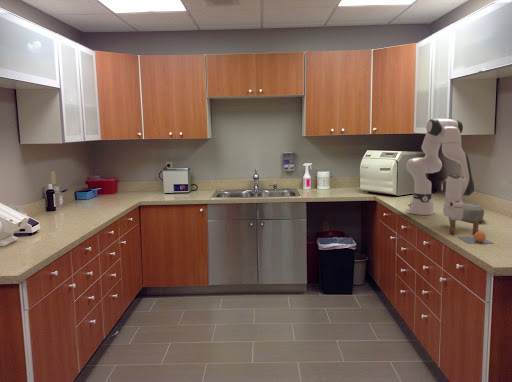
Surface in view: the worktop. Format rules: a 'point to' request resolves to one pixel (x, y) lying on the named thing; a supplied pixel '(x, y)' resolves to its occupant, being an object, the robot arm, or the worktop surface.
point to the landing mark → (472, 240)
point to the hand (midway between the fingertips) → (451, 224)
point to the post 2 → (475, 226)
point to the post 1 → (452, 227)
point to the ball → (479, 236)
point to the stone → (472, 213)
